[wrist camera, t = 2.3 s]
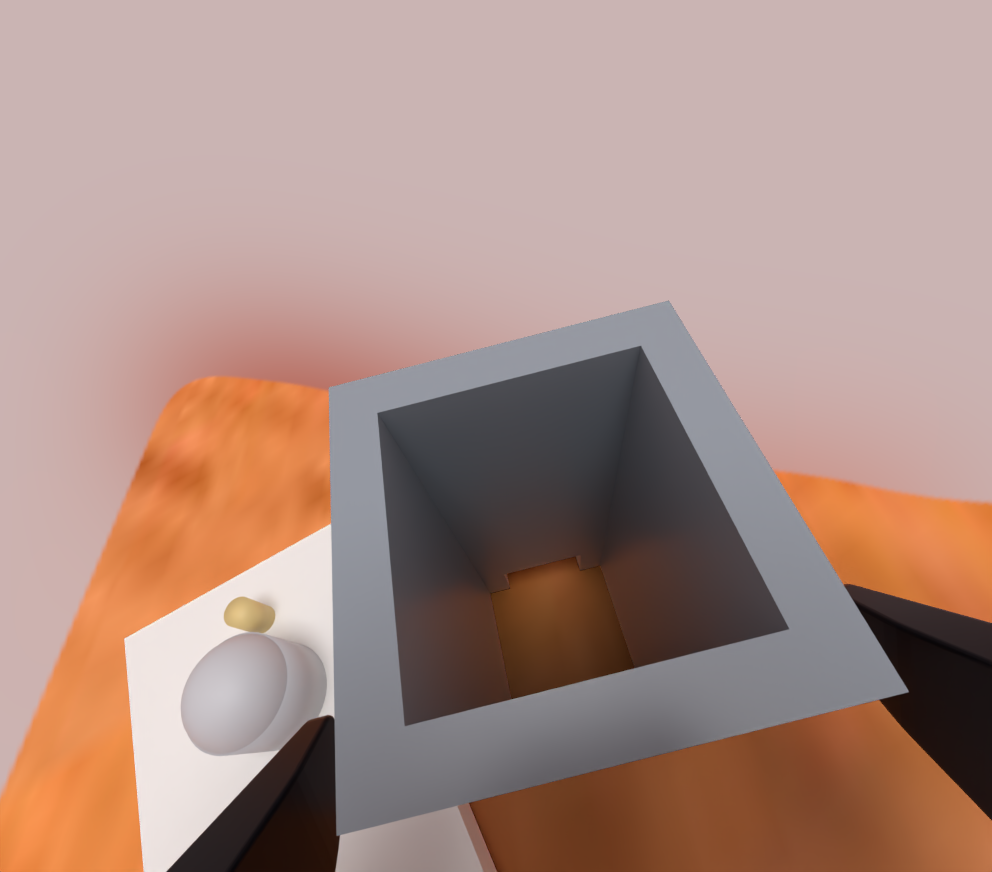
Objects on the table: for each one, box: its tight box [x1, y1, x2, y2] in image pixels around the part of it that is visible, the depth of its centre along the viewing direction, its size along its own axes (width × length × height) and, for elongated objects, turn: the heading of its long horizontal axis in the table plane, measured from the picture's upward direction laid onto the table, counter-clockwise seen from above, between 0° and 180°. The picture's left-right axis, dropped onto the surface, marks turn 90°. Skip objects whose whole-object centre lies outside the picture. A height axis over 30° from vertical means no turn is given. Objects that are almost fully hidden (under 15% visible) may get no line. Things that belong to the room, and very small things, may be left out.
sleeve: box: [329, 301, 909, 836], centre depth 12 cm, size 6×6×12 cm
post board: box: [124, 524, 497, 872], centre depth 13 cm, size 18×9×5 cm, turn 30°
